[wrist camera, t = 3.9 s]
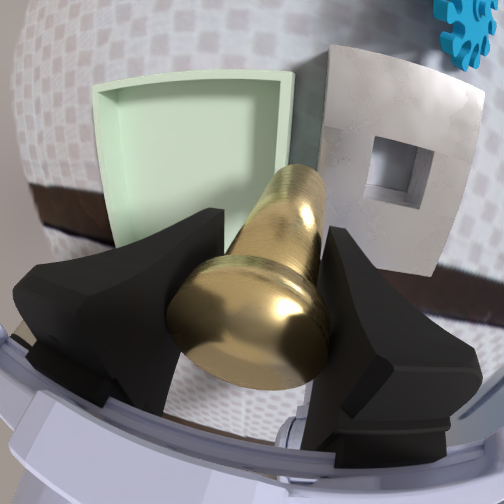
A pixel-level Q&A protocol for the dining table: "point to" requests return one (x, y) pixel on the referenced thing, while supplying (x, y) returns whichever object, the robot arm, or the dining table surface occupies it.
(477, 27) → the gear
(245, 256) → the pin
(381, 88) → the pin bracket
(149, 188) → the parts tray
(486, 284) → the dining table surface
